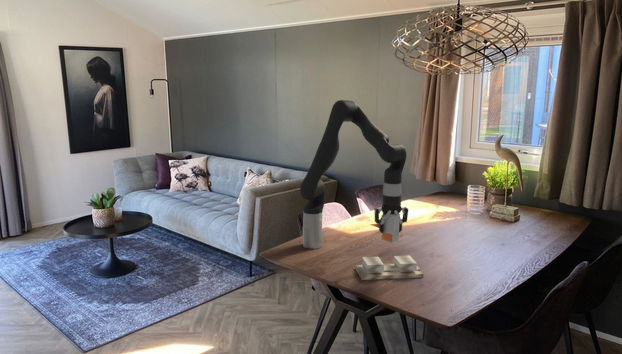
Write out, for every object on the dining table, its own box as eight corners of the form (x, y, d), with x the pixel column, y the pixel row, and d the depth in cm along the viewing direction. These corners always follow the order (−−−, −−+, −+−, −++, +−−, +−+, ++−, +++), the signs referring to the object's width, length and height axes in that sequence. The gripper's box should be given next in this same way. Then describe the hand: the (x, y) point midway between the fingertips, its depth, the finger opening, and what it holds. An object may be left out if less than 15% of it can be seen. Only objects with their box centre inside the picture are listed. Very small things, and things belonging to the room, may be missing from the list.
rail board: (361, 279, 190) (362, 266, 189) (355, 268, 202) (355, 256, 201) (423, 277, 193) (424, 264, 192) (413, 266, 205) (414, 254, 204)
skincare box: (381, 240, 196) (382, 212, 193) (387, 238, 199) (388, 210, 196) (392, 243, 191) (394, 215, 189) (399, 241, 194) (400, 213, 192)
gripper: (406, 191, 195) (404, 229, 199) (372, 191, 194) (371, 229, 197) (412, 195, 188) (409, 234, 191) (377, 195, 186) (375, 235, 190)
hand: (390, 232), depth 194 cm, fingers closed on skincare box, 6 cm apart
